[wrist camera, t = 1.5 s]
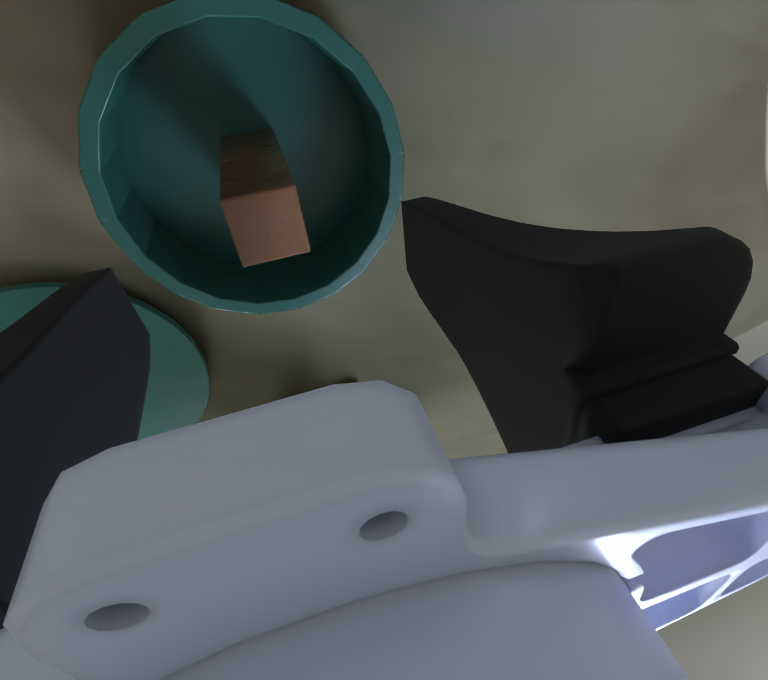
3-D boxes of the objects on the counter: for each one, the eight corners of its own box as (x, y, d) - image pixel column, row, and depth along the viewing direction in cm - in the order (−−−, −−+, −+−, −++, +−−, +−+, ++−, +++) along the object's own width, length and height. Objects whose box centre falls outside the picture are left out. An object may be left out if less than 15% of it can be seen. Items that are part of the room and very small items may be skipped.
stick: (272, 126, 18) (295, 184, 13) (285, 179, 20) (311, 252, 14) (219, 136, 18) (218, 200, 12) (236, 189, 19) (242, 268, 14)
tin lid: (248, 402, 27) (252, 459, 24) (63, 480, 27) (40, 550, 24) (118, 233, 19) (96, 283, 16) (-148, 340, 19) (-228, 415, 16)
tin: (402, 221, 23) (429, 254, 20) (202, 303, 23) (200, 350, 20) (326, -55, 16) (351, -68, 13) (28, 58, 15) (-19, 73, 12)
